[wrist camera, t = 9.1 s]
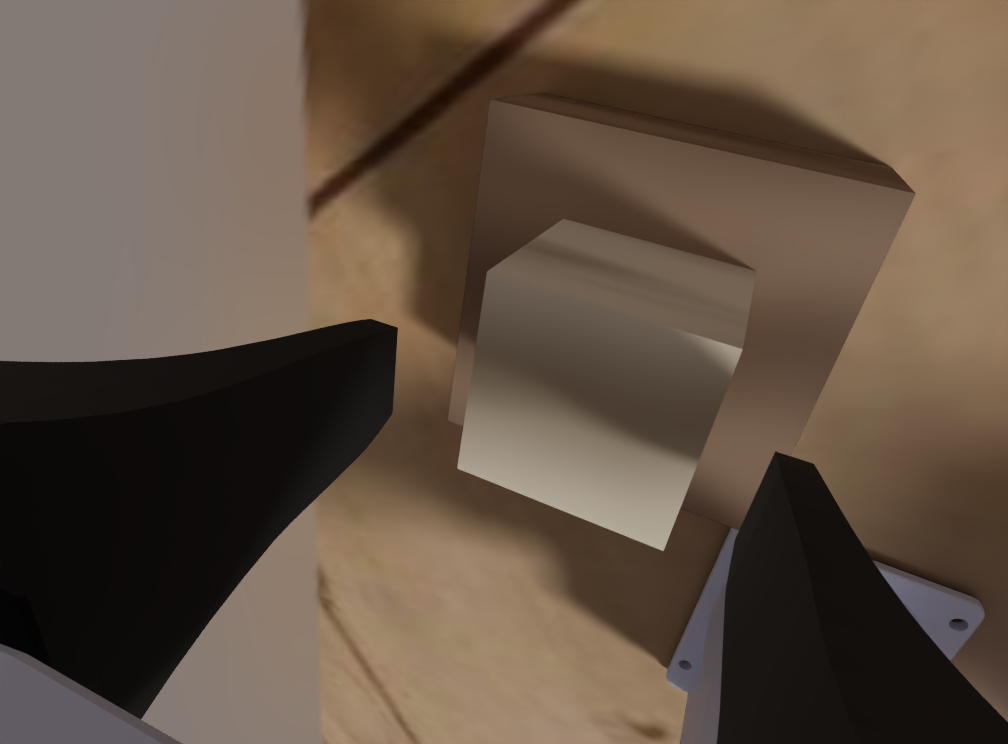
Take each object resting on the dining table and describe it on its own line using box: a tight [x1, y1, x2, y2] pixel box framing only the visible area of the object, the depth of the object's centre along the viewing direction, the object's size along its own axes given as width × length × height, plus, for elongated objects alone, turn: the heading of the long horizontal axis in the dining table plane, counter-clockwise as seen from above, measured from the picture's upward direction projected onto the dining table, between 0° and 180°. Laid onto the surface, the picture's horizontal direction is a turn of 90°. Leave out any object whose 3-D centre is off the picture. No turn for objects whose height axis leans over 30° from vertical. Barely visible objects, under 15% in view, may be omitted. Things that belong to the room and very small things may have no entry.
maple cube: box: [457, 219, 757, 551], centre depth 15 cm, size 5×5×5 cm
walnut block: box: [448, 93, 916, 530], centre depth 19 cm, size 10×10×4 cm
